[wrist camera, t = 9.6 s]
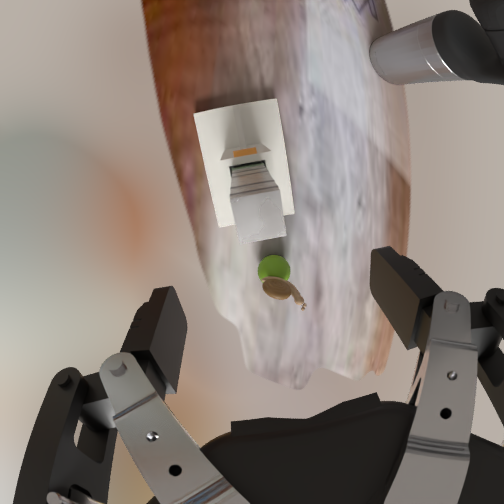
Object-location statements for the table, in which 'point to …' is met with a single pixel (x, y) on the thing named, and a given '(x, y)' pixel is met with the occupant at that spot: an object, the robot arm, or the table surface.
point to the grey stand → (242, 150)
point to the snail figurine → (278, 279)
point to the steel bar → (256, 203)
